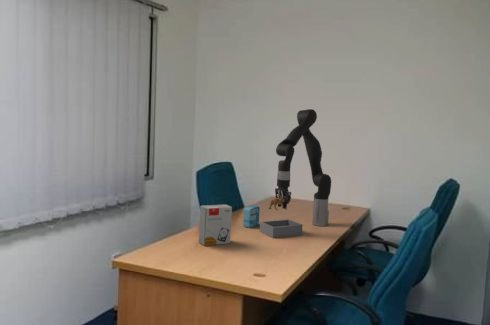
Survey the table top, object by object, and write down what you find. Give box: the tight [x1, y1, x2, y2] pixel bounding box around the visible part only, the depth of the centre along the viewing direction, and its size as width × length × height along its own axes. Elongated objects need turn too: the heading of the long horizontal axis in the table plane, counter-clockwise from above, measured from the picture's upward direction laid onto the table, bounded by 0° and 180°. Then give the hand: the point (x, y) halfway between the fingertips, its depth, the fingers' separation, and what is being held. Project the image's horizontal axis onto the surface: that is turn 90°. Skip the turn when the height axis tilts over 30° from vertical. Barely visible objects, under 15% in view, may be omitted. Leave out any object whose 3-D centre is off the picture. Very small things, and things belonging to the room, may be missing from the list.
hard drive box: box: [198, 204, 233, 246], centre depth 246 cm, size 16×8×20 cm, turn 117°
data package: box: [242, 205, 261, 229], centre depth 286 cm, size 12×4×12 cm, turn 149°
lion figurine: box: [268, 196, 292, 211], centre depth 270 cm, size 15×5×9 cm, turn 117°
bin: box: [259, 219, 303, 239], centre depth 272 cm, size 20×14×6 cm
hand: (282, 207), depth 271 cm, fingers closed on lion figurine, 4 cm apart
